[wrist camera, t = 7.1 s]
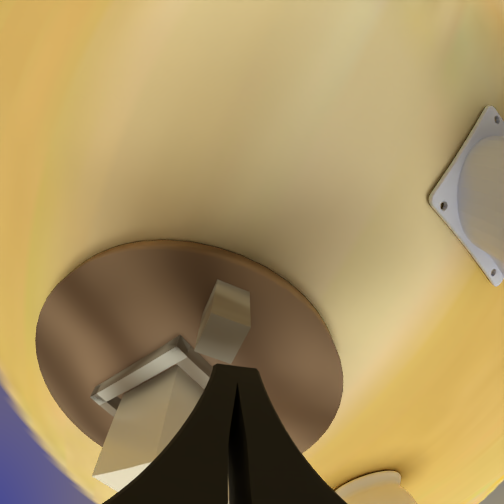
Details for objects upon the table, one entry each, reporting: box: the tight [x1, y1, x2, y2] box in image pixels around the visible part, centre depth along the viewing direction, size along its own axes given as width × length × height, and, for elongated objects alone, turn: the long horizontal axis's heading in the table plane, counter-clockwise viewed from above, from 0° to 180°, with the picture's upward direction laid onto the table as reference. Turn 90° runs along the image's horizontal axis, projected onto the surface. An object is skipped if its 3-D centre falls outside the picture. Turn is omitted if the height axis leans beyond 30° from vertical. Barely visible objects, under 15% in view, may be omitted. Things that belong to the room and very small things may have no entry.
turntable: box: [35, 240, 343, 453], centre depth 16 cm, size 20×20×4 cm
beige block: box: [92, 365, 229, 504], centre depth 14 cm, size 8×5×6 cm, turn 126°
